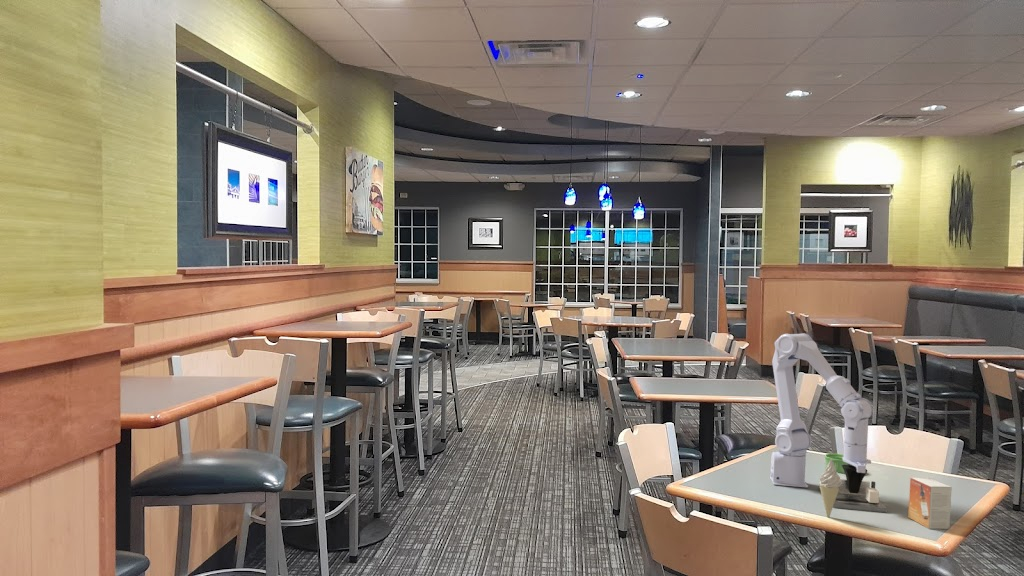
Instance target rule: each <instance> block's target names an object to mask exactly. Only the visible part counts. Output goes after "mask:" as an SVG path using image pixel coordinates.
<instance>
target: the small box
mask: <svg viewBox="0 0 1024 576" xmlns="http://www.w3.org/2000/svg"><path fill="white" fill-rule="evenodd" d="M909 478H910V480H909V481H910V482H909V496H908V497H909V498H908V500H909V501H908V513H907V514H908V515H907V517H908V519H911V520H912V521H914V522H916V523H917V524H920V525H922V526H923V527H925V528H926V529H928V530H949V529H950V523H951V522H950V521H951V507H952V490H953V489H952V487H953V486H950V485H948V484H945V483H942V482H940V481H938V480H935V479H933V478H931V477H909Z"/></svg>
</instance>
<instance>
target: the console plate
mask: <svg viewBox="0 0 1024 576" xmlns="http://www.w3.org/2000/svg"><path fill="white" fill-rule="evenodd" d="M870 488H875V489H876V481H870ZM818 489H819V491H820V492H821V490H820V486H819V485H818ZM833 508H835V509H845V510H855V511H863V512H875V513H876V512H878V513H887V512H888V511H887V510H888V508H887V507H886V505H884V504H883V503H882V502H881V500H879V503H869V502H868V500H867V499H866V494H857V493H846V492H838V494H837V497H836V499H835V502H834V505H833ZM833 508H832V509H833Z"/></svg>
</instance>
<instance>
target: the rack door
mask: <svg viewBox="0 0 1024 576" xmlns="http://www.w3.org/2000/svg"><path fill="white" fill-rule="evenodd" d="M840 480H841V484H840V488H839V491H838V492H846V493H850V492H849V490H848V485H847V479H843V478H840ZM866 488H871V481H867V480H862V482H861V486H860V489H859V492H858V494H866Z"/></svg>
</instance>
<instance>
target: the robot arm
mask: <svg viewBox="0 0 1024 576" xmlns="http://www.w3.org/2000/svg"><path fill="white" fill-rule="evenodd" d="M773 343H774V353H773V357H772V360H771V361H772V369H773V370H772V371H773V376H774V383H775V384H774V385H775V390H776V396H777V404H778V411H779V417H780V418H779V419H780V422H779V423H778V425H777V426H776V428H775V430H776V432H775V433H776V435H775V439H774V444H775V447H776V449H777V450H778V451H772V452H771V457H770V458H771V459H770V474H769V475H770V477H769V478H770V480H771V482H772V484H773V485H774V486H775V485H776V486H785V487H795V488H796V487H797V488H806V489H807V488H809V485H808V483H807V482H806V461H807V458H806V457H807V455H806V454H807V452H808V451H807V450H808V449H809V448H810V447H811V445H812V437H811V435H810V433H809V432H808V429H807V425H806V423H805V422H804V421H802V419H801V415H800V413H801V412H800V408H799V401H798V395H797V387H796V382H795V381H796V380H795V375H794V365H795V364H796V363H797V362H798V361H799V359H800V360H803V361H807V362H808V363H809V364H810V366H811V367H812V368H813V369H814V370H815V371H816V372H817V373H818V374H819V375H820V377H821V378H822V379H823V380H824V381H825V389H826V390H827V391H828V393H829V394H830V395H831V396H832V398H833V399H834V400H835V401H836V403H837V404H838V405H839V407H841V408H840V414H841V416H842V417H843V418H844V437H843V455H844V456H843V461H844V462H846V463H848V465H842V467H843V469H844V472H845V473H844V475H845V478H846V479H845V480H847V485H848V490H849V492H850V493H857V494H858V492H859V489H860V486H861V482H862V481H864V477H865V476H866V474H868V470H867V464H872V460H871V459H867V457H868V437H869V435H868V433H869V432H868V430H869V418H870V417H871V416H872V415H873V410H874V409H873V405H872V403H871V402H870V400H869V399H867V398H863V397H862V395H861V394H860V393H858V392H857V391H856V390H855V388H854V387H853V386H852V385H851V380H849V378H845V377H844V376H843V375H842V376H841V375H837V373H836V371H835V370H834V369H833V368H832V366H831V365H830V363H829V362H828V361H827V359H826V358H825V357H824V355H823V354H822V352H821V351H820V349H819V348H818V344H817V342H815V341H814V340H813V339H812V336H811V335H809V334H807V333H803V332H801V333H791V334H790V333H784V334H783V333H782V334H781V335H780V336H779V337H778V338H777V339H776V340H775V341H774V342H773Z"/></svg>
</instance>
